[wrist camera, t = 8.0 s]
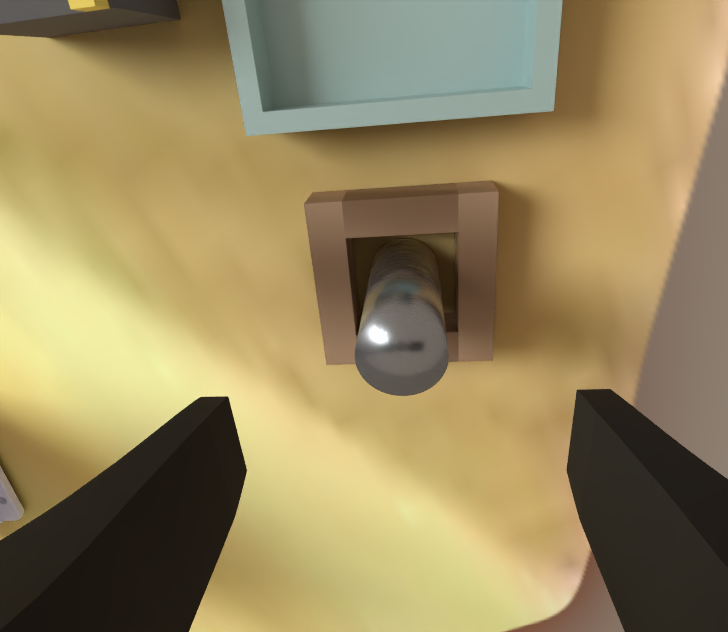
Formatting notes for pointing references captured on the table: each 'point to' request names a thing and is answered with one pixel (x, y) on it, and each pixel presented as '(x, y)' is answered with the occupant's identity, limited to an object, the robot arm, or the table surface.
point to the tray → (390, 60)
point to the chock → (80, 15)
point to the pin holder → (406, 217)
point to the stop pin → (402, 321)
